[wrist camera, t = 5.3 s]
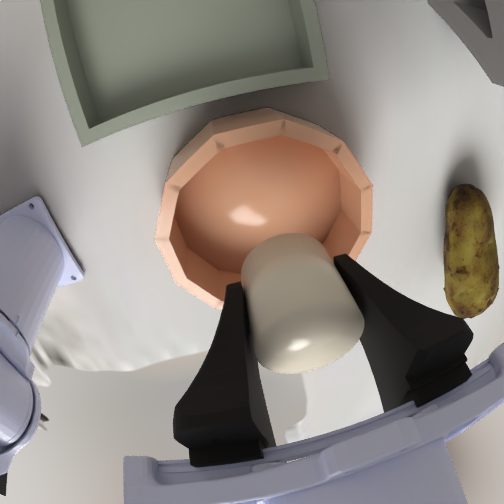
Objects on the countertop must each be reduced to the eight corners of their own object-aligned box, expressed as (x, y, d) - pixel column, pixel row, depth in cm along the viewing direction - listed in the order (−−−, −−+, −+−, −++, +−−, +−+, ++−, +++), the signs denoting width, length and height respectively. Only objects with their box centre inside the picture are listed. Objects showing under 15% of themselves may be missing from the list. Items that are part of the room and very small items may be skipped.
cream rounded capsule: (252, 312, 16) (267, 382, 12) (229, 248, 13) (242, 323, 10) (330, 290, 16) (361, 354, 12) (324, 222, 13) (367, 286, 10)
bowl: (198, 291, 24) (199, 329, 21) (138, 142, 17) (122, 163, 13) (347, 252, 24) (368, 284, 21) (338, 96, 17) (369, 106, 13)
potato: (490, 178, 22) (543, 219, 16) (454, 275, 30) (490, 321, 23) (440, 173, 21) (504, 221, 15) (404, 285, 29) (441, 341, 22)
